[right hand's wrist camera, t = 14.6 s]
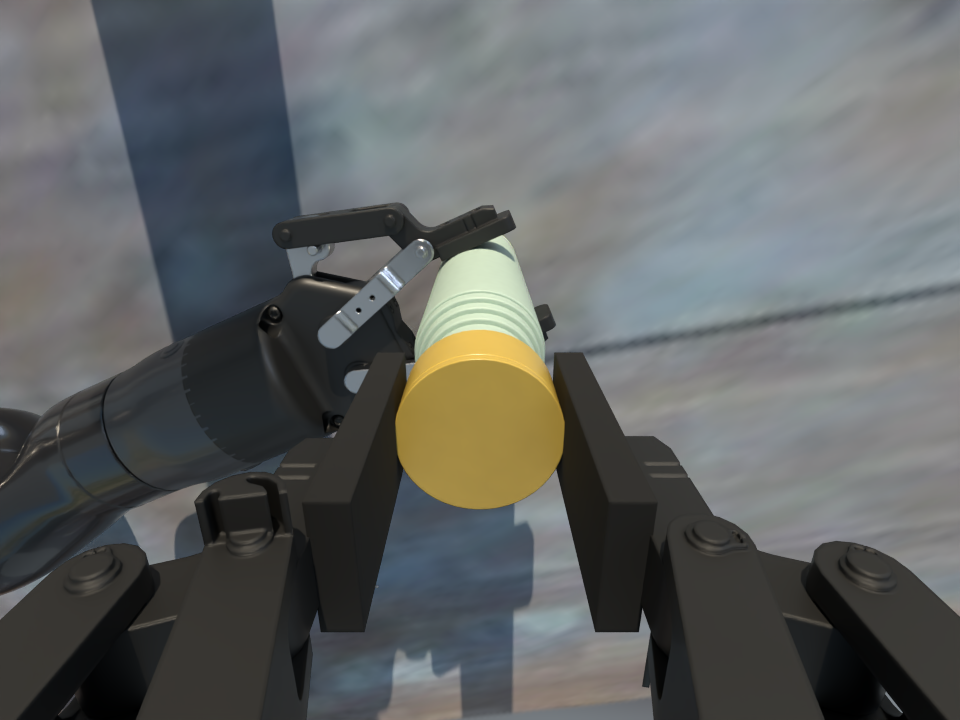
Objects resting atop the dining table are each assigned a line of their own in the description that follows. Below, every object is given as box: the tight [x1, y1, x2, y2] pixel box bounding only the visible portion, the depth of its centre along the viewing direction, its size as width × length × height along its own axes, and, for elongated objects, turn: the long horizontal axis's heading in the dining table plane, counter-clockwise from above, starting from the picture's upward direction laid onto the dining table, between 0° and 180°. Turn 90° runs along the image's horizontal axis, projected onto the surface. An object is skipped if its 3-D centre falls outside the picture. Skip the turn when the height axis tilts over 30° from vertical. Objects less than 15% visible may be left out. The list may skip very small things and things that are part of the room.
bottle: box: [414, 235, 545, 363], centre depth 22 cm, size 4×4×20 cm
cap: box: [395, 330, 565, 509], centre depth 14 cm, size 4×4×2 cm
